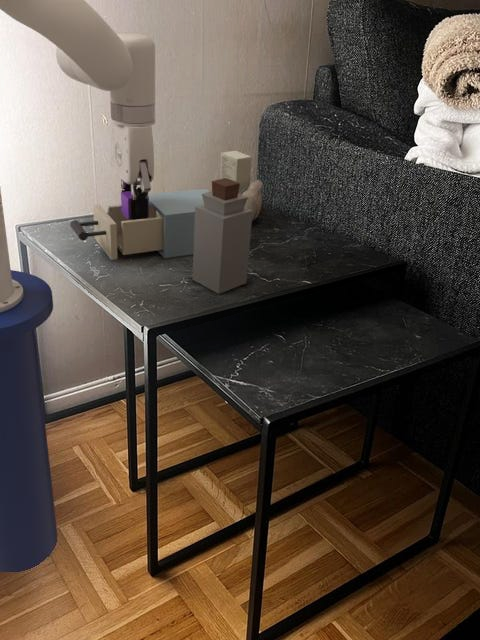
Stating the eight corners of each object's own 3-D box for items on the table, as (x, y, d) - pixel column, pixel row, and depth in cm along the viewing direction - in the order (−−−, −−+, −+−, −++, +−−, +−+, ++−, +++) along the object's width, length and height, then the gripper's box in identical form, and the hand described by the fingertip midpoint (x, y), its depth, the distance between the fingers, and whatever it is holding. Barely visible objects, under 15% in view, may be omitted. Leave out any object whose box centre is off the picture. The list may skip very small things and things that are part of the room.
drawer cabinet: (164, 258, 115) (165, 215, 110) (143, 235, 123) (142, 194, 119) (228, 249, 121) (231, 207, 116) (204, 228, 129) (206, 188, 125)
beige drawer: (83, 263, 108) (81, 227, 105) (68, 241, 116) (66, 207, 112) (175, 251, 116) (176, 217, 112) (155, 231, 124) (155, 198, 120)
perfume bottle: (246, 283, 108) (255, 184, 99) (218, 293, 104) (225, 191, 95) (220, 269, 112) (226, 173, 103) (192, 279, 108) (196, 179, 99)
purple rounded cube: (128, 219, 112) (127, 198, 110) (121, 212, 115) (120, 191, 113) (149, 217, 113) (149, 196, 111) (141, 210, 116) (141, 189, 114)
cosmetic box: (249, 209, 141) (253, 156, 135) (233, 212, 139) (237, 159, 133) (232, 200, 146) (235, 149, 139) (217, 203, 143) (220, 151, 137)
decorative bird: (222, 232, 128) (224, 198, 124) (244, 209, 141) (247, 177, 137) (247, 237, 127) (250, 202, 123) (266, 213, 140) (270, 181, 136)
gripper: (97, 103, 109) (101, 201, 119) (128, 125, 97) (130, 233, 106) (137, 102, 113) (138, 198, 122) (172, 123, 100) (170, 228, 109)
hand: (134, 213), depth 114 cm, fingers closed on purple rounded cube, 3 cm apart
